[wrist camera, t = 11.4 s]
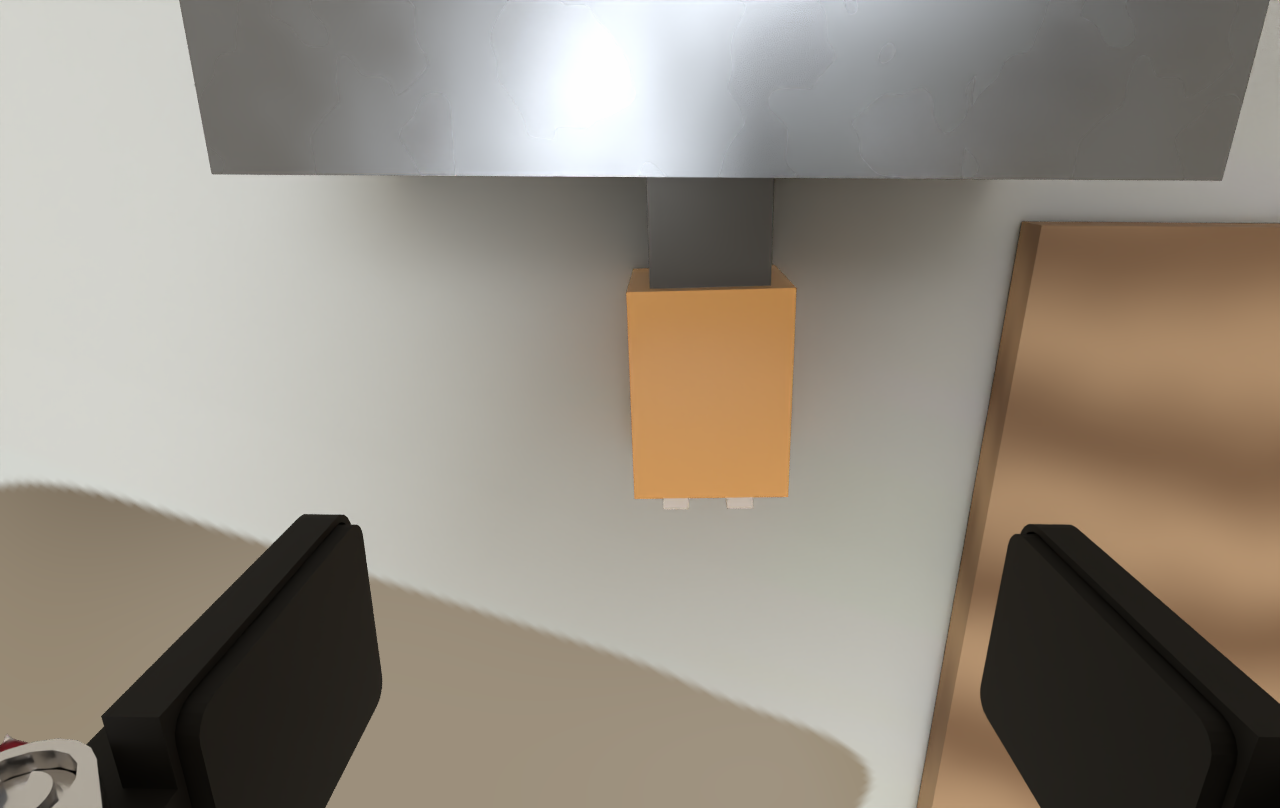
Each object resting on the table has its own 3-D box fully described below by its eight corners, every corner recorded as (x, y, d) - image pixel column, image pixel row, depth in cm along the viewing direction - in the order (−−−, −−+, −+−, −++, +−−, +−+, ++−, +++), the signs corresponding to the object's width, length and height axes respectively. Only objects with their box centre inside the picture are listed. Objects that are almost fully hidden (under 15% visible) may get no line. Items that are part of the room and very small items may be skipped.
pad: (1021, 221, 21) (1041, 225, 20) (1505, 225, 21) (1553, 229, 20) (908, 854, 30) (918, 881, 29) (1248, 866, 30) (1271, 894, 29)
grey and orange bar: (609, -405, 17) (592, -563, 13) (794, -418, 17) (830, -583, 13) (640, 477, 25) (635, 535, 21) (768, 475, 25) (786, 533, 21)
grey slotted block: (366, -67, 19) (135, -234, 11) (1035, -70, 19) (1335, -249, 10) (390, 165, 21) (211, 174, 13) (996, 168, 21) (1222, 180, 12)
